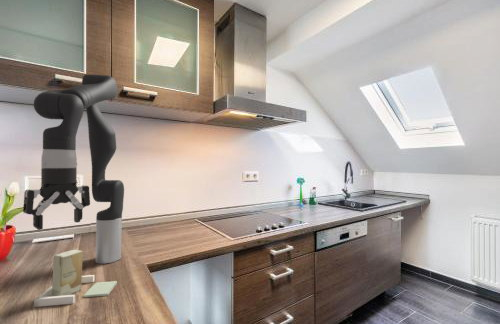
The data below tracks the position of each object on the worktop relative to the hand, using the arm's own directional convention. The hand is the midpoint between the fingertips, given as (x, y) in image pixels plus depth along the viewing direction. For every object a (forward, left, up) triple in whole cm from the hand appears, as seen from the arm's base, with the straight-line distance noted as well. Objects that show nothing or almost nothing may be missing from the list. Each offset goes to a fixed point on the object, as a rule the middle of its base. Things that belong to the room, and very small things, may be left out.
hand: (59, 225), depth 65 cm
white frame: (-9, -2, -23) cm, 25 cm away
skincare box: (-9, -2, -23) cm, 25 cm away
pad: (-9, +7, -23) cm, 26 cm away
